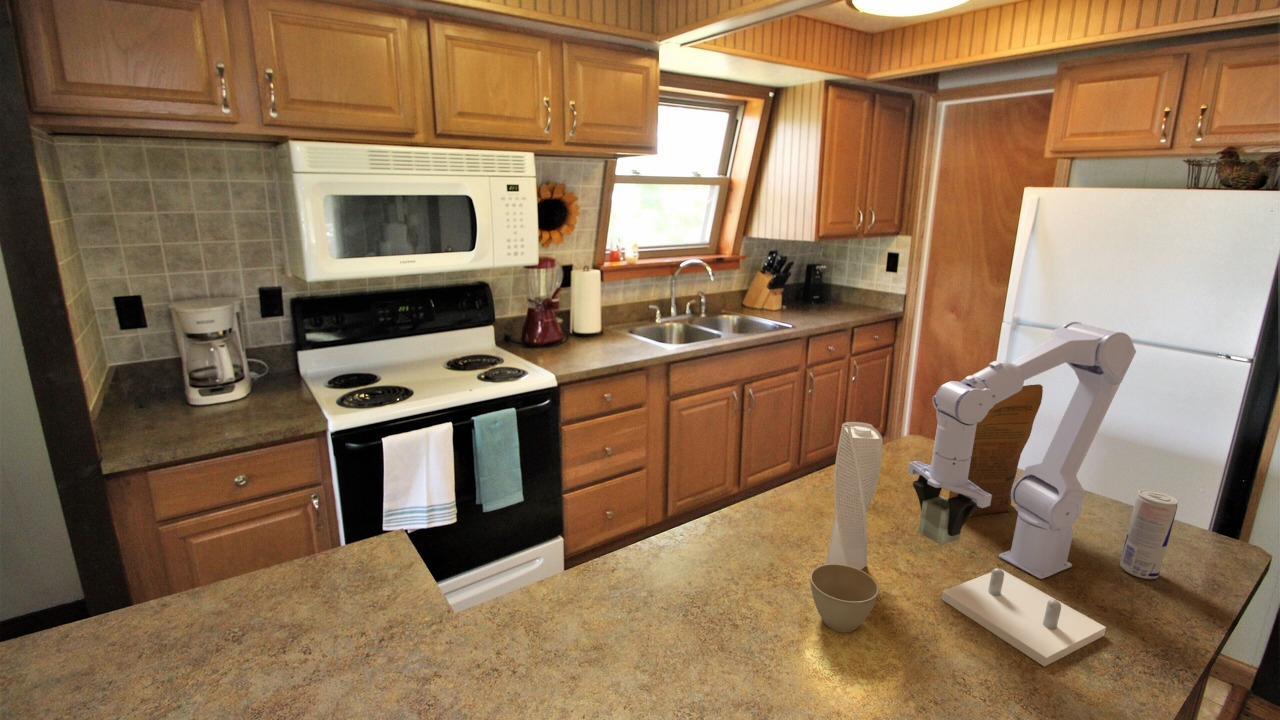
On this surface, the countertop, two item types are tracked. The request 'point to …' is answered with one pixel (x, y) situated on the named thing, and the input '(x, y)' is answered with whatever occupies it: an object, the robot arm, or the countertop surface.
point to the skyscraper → (854, 492)
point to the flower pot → (843, 595)
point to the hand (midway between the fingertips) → (940, 526)
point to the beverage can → (1148, 533)
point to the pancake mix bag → (1002, 446)
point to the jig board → (1023, 616)
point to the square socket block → (936, 521)
